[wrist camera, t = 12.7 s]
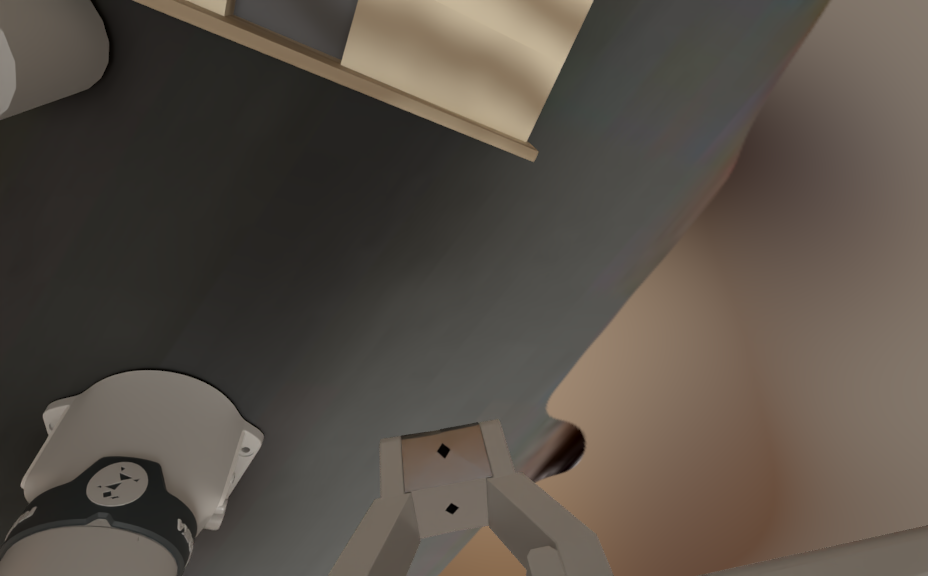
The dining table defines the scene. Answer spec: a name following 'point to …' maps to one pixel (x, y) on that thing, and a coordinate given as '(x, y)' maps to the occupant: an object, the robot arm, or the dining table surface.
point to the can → (48, 51)
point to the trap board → (415, 52)
